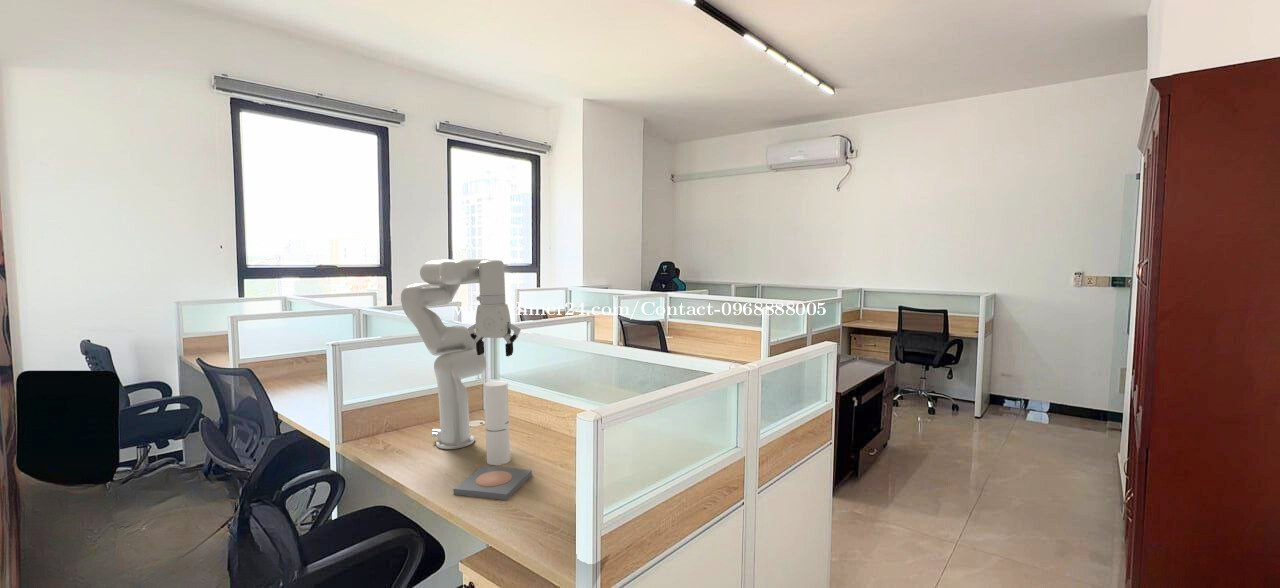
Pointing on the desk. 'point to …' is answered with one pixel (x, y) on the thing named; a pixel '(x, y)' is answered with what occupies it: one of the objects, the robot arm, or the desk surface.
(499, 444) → the cylindrical container
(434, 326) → the robot arm
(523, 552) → the desk surface
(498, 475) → the board
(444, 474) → the desk surface
